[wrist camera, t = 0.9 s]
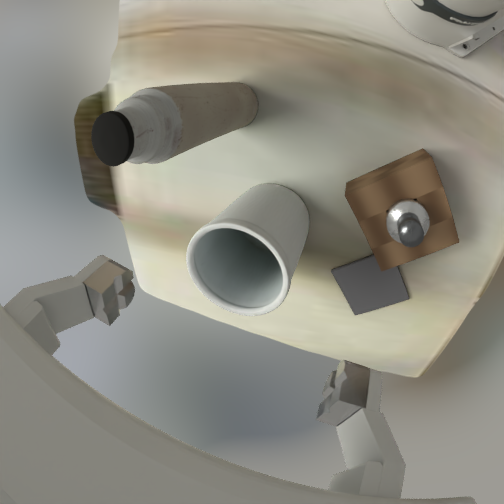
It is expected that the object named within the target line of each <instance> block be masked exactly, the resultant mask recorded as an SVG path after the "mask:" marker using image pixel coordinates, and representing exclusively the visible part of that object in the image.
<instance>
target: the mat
mask: <svg viewBox="0 0 504 504" xmlns="http://www.w3.org/2000/svg"><path fill="white" fill-rule="evenodd" d="M331 272H332V274H333V276H334V277H335V279H336V281H337V283H338V285H339V286H340V288H341V290H342V292H343V294H344V296H345V298H346V299H347V301H348V303H349V305H350V307H351V309H352V311H353V313H354V314H355V315H358V314H362V313H365V312H369V311H372V310H375V309H379V308H382V307H385V306H389V305H392V304H395V303H398V302H401V301H404V300H407V299H409V296H408V293H407V290H406V287H405V285H404V282H403V279H402V277H401V274H400V271H399V269H398V266H396V267H393V268H390V269H387V270H385V271H382V272H381V269H380V267H379V265H378V263H377V260H376V258H375V256H374V255H371V256H368V257H365V258H363V259H360V260H357V261H354V262H352V263H349V264H346V265H343V266H340V267H338V268H335V269H332V270H331Z"/></svg>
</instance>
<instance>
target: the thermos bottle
mask: <svg viewBox="0 0 504 504" xmlns="http://www.w3.org/2000/svg"><path fill="white" fill-rule="evenodd" d="M257 111H258V101H257V97H256V95H255V93H254V92H253V91H252V89H250V88H249V87H248V86H246V85H244V84H242V83H235V82H226V83H197V84H182V85H170V86H160V87H152V88H145V89H142V90H139V91H137V92H136V93H134V94H133V95H132V96H131V97H129V98H127V99H125V100H124V101H122V102H121V103H120V104H119V105H118V106H117V107H116V108H115V110H114V111H109V112H105V113H103V114H101V115H100V116H99V117H98V118H97V119H96V121H95V122H94V125H93V128H92V144H93V148H94V151H95V153H96V155H97V156H98V158H99V159H100V160H101V161H102V162H103V163H105V164H106V165H109V166H118V165H120V164H122V163H124V162H126V161H128V162H130V163H134V164H141V163H150V164H155V163H160V162H163V161H166V160H168V159H170V158H172V157H174V156H176V155H178V154H180V153H183V152H185V151H187V150H189V149H191V148H194V147H196V146H198V145H200V144H203V143H205V142H207V141H210V140H212V139H214V138H217V137H219V136H222V135H224V134H227V133H229V132H232V131H234V130H237V129H239V128H242V127H244V126H246V125H248V124H249V123H251V122H252V121H253V119H254V118H255V116H256V114H257Z"/></svg>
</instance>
